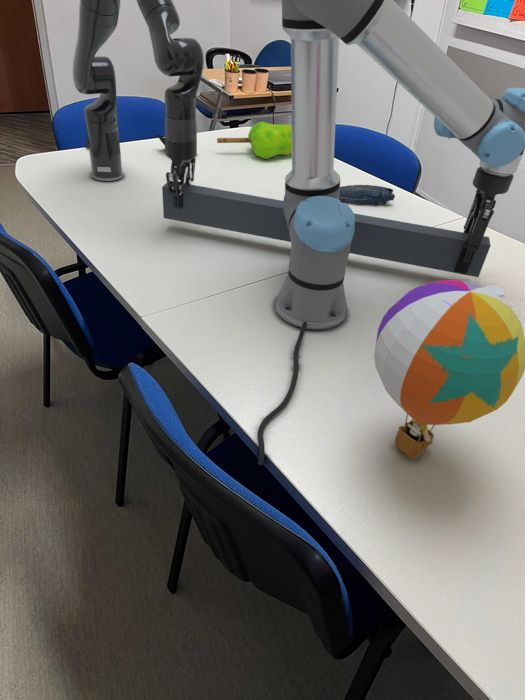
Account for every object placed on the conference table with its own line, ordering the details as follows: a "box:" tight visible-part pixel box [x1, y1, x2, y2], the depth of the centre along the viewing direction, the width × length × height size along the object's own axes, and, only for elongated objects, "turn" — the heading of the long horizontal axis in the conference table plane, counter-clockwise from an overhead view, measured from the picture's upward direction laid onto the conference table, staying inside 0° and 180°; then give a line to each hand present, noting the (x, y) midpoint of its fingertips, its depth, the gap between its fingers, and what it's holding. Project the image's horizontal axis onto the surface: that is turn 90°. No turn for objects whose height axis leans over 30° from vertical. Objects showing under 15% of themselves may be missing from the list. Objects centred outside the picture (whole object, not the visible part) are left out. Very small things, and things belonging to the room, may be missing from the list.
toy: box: [373, 279, 525, 460], centre depth 74 cm, size 20×20×30 cm
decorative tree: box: [216, 121, 292, 160], centre depth 186 cm, size 18×10×30 cm
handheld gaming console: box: [156, 133, 165, 146], centre depth 183 cm, size 12×7×10 cm
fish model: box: [339, 184, 396, 206], centre depth 161 cm, size 7×21×5 cm, turn 84°
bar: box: [161, 182, 491, 278], centre depth 127 cm, size 79×4×8 cm, turn 75°
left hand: (181, 204), depth 133 cm, fingers closed on bar, 4 cm apart
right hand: (459, 266), depth 124 cm, fingers closed on bar, 5 cm apart
